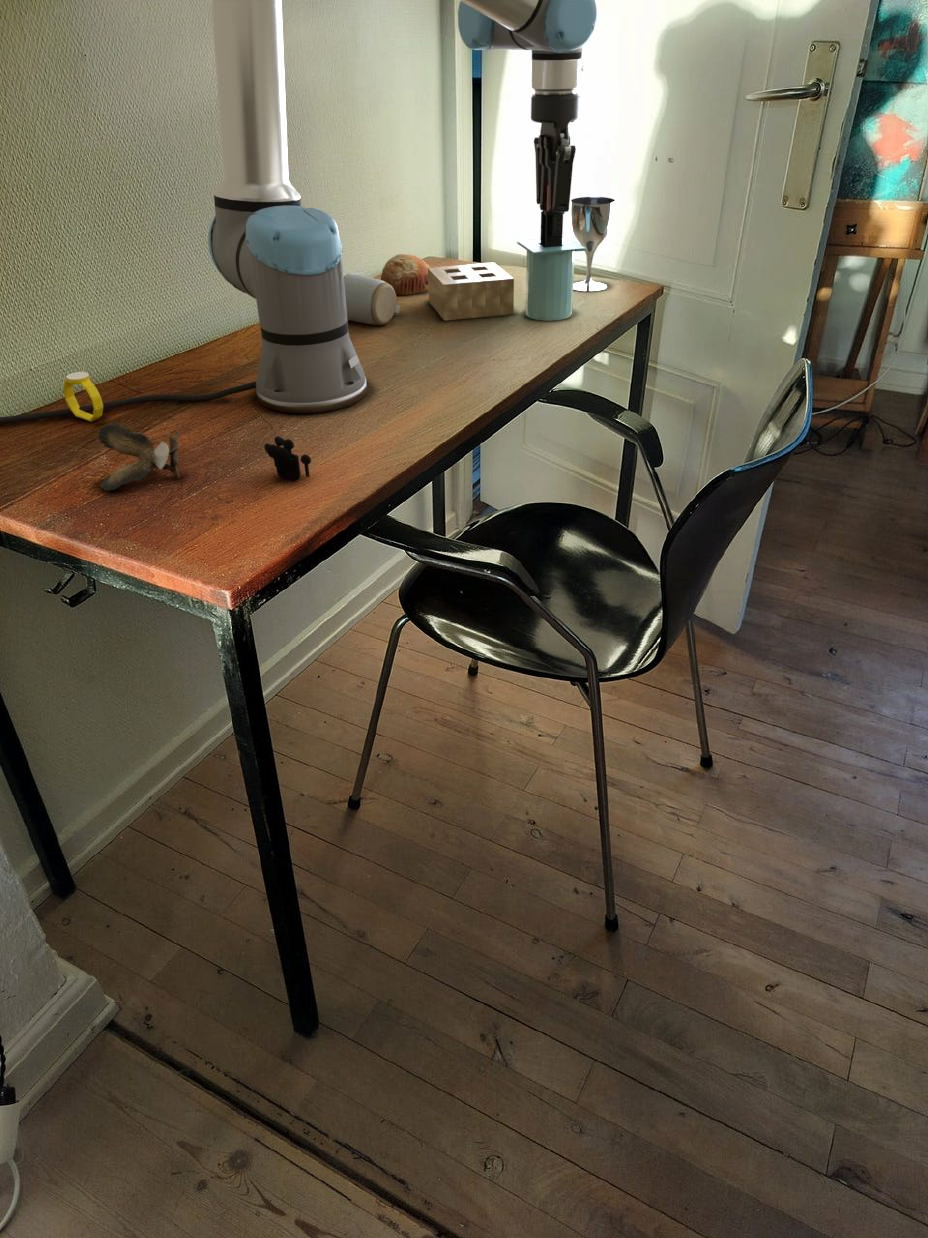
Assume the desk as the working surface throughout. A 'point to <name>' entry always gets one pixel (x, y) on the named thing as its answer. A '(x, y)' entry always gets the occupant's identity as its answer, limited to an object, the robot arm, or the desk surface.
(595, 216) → the wine glass
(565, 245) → the lid
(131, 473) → the eagle figurine
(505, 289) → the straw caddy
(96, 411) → the watch
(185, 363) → the desk surface
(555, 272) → the light blue pen holder
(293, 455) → the wireless earbuds
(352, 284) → the ceramic mug
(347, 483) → the desk surface
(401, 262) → the muffin
